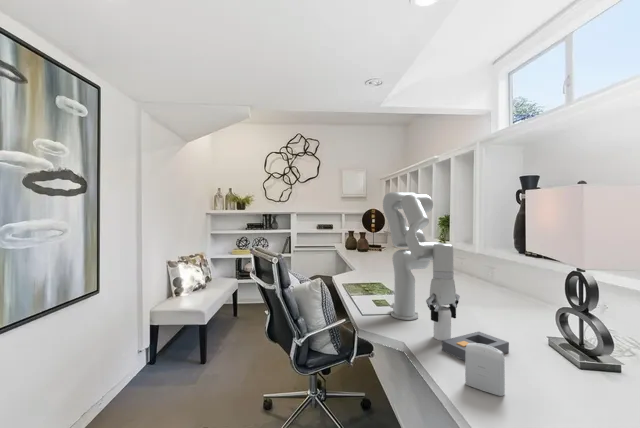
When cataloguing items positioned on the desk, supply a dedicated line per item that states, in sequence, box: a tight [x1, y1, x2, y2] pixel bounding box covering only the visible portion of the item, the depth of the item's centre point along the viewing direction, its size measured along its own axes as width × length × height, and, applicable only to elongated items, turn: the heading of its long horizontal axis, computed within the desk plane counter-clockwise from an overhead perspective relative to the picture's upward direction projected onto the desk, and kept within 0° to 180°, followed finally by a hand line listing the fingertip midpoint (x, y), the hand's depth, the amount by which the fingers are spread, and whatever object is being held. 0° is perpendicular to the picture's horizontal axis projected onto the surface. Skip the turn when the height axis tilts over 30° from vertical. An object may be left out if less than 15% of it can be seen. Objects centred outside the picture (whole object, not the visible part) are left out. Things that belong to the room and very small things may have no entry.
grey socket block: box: [441, 331, 510, 362], centre depth 120 cm, size 12×20×4 cm, turn 118°
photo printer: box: [464, 343, 506, 397], centre depth 95 cm, size 10×4×12 cm, turn 47°
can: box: [433, 305, 452, 342], centre depth 132 cm, size 6×6×12 cm
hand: (443, 319), depth 131 cm, fingers open, 9 cm apart
